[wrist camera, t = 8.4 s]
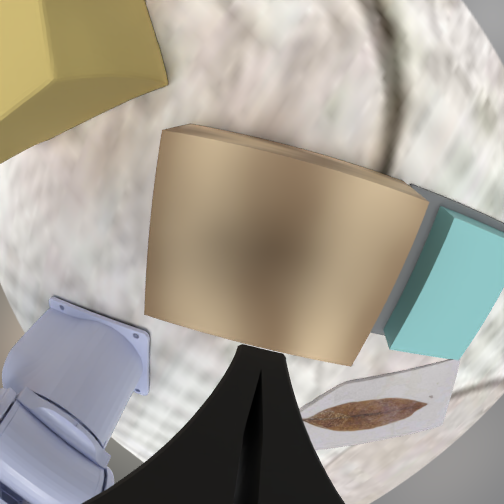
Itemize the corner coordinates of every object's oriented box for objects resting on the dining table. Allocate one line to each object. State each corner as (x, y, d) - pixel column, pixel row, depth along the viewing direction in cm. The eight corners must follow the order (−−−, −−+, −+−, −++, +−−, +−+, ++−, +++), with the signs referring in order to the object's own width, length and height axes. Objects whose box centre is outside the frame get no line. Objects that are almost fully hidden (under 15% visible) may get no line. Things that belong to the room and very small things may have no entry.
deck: (168, 279, 21) (144, 314, 17) (190, 123, 16) (162, 129, 13) (344, 324, 21) (350, 366, 17) (402, 180, 16) (429, 202, 13)
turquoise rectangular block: (458, 360, 18) (450, 342, 20) (523, 246, 14) (507, 234, 16) (389, 349, 18) (383, 329, 20) (454, 217, 14) (440, 205, 16)
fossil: (284, 453, 28) (262, 399, 24) (285, 443, 29) (263, 387, 25) (442, 425, 25) (463, 362, 20) (439, 416, 26) (458, 351, 21)
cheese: (20, 27, 14) (-88, 26, 5) (146, -51, 12) (48, -119, 3) (45, 150, 18) (-70, 197, 9) (183, 89, 16) (66, 86, 7)
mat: (351, 325, 21) (351, 328, 20) (410, 183, 16) (412, 185, 16) (443, 344, 21) (444, 346, 20) (506, 224, 16) (509, 226, 16)
